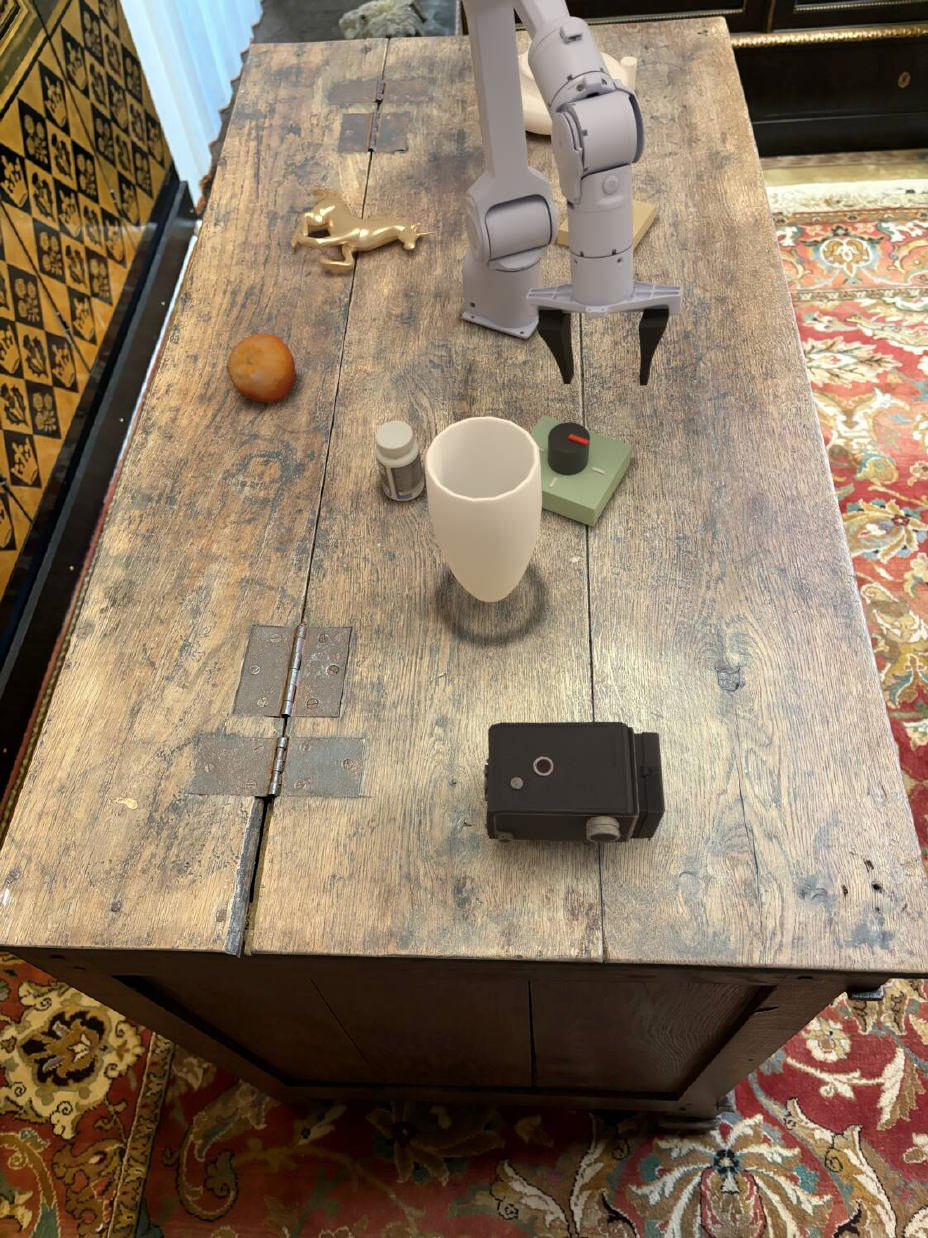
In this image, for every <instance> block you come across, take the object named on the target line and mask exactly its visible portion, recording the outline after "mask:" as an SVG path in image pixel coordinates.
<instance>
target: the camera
mask: <svg viewBox="0 0 928 1238" xmlns="http://www.w3.org/2000/svg"><path fill="white" fill-rule="evenodd" d="M487 734H488V735H487V737H488V739H487V740H488V741H487V743H488V755H487V756H488V757H487V759H485V762H486V764H484V769H483V770H482V774H483V793H484V798H483V799H484V802H486V813H485V814H486V815H485V818H486V819H485V820H486V821H485V822H486V823H485V824H483V828H484V829H486V834H487V837H488V839H489V840H497V842H499V843H500V844H512V843H513V842H514V841H531V842H558V843H561V842H562V843H589V844H592V843H593V844H596V843H597V844H600V843H601V844H612V843H629V842H630V841H631V840H634V839H635V840H638V839H639V840H641V839H642V840H643V839H647V841H648V842H650V841H651V839H653V837H654V836H655V834H656V832H657V830H658V828H659V825H660V823H661V821H662V818H663V817H664V814H665V812H666V805H665V804H666V803H665V796H664V795H665V792H664V781H663V771H662V770H663V769H662V767H663V766H662V757H661V755H662V754H661V744H660V734H659V733H658V732H657V731H656V732H653V731H642V732H640V733H639V732H638V733H636V732H635V730H634V727H632V726H628V724H627V723H625V722H623V721H559V722H557V721H555V722H552V721H551V722H529V721H528V722H527V721H526V722H524V721H522V722H520V721H519V722H518V721H516V722H507V721H506V722H505V721H504V722H497V723H493V724H491V725H490V726H489V727H488V729H487Z"/></svg>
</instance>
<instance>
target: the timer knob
mask: <svg viewBox="0 0 928 1238" xmlns="http://www.w3.org/2000/svg"><path fill="white" fill-rule="evenodd" d="M565 422H566V421H565ZM587 430H588V429H587V428H586V427H585V426H583V425H582V424H580V423H576V422H571V421H567V422H566V423H561V424H558V425H556V426H555V427H553V428H552V429H551V431H550V432H549V435H548V464H549V466H550V467H551V469H552V470H554V471H555V472H557V473H559V474H563V475H573V474H577V473H579V472H581V471H582V470H584V468H585V467H586V466H587V464H588V456H589V444H590V435H589V432H588V431H587Z"/></svg>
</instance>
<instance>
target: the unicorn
mask: <svg viewBox="0 0 928 1238" xmlns="http://www.w3.org/2000/svg"><path fill="white" fill-rule="evenodd" d="M310 193H311V195H312V196H313V198H314V200H316V201H317V202H318V203H316V204H315V205H314V206H313V207H312V209H311V211H310V210H309V211H305V212H303V213H302V214H301V215H300V217H299V223H300V224H299V226H298V227H296V229H295V231H294V232H293V235H292V238H291V240H290V241H289V244H290V248H291V249H292V250H294V249H296V247H297V246H298V245H299V244H300V245H302V246H303V247H307V248H312V249H313V248H314V249H318V250H323V249H327V248H331V247H332V248H333V247H336V246H341V254H342V257H343V258H344V261H336V260H335V261H334V260H332V259H328V258H327V257H326V256H324V255H318V261H319V265H320V266H321V267H322V268H323V269H325V270H328V271H332V272H350V271H352V270H353V269H354V267H355V264H356V263H355V259H354V257H353V254H355V253H357V252H367V251H371V250H374V249H377V248H380V247H382V246H384V245H386V244H388V243H391V242H394V241H397V240H399V241H400V242H401V243H402V244H403V248H404V250H406V251H412V250H413V249H414V248H416V242H417V240H418V239H419V237H424V236H427V235H428V236H429V235H432V234H436V233H437V231H431V232H430V231H429V232H418V231H419V229H420V227H421V222H417V223H415V224H413V223H412V222H411V221H409V220H407V219H405V218H401V217H399V215H396V216H388V215H375V216H373V215H370V214H368V215H367V218H360V217H357V216H354V215H352V213H351V211H350V209H349V207H348V206H349V205H348V204H347V202H346V201H344V200H343V197H342V194H341V193H340V192H339V191H338V190H336V189H334V190H333V189H332V188H329V187H325V188H321V187H319V188H317V187H315V188H313V189H312V190H311V191H310ZM325 231H328V233H329V235H328V236H325V237H322V238H316V237H311V236H308V235H310V234H314V233H319V232H325Z"/></svg>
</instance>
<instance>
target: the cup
mask: <svg viewBox="0 0 928 1238" xmlns="http://www.w3.org/2000/svg"><path fill="white" fill-rule="evenodd" d="M424 473H425V486H426V496H427V507H428V512H429V517H430V521H431V526H432V529H433V530H432V531H433V535H434V538H435V542H436V543H437V545H438V547H439V549H440V551H441V553H442V556H443V558H444V560H445V561H446V564H447V565H448V567H449V569H450V571H451V573H452V574H453V576H454V577H455V579H456V580H457V582H458V583H459V584H460V586H462V588H463V589H464V590H465V591H467V592H468V593H469V594H470V595H472V596H473V598H475V599H477V600H478V601H481V602H485V603H497V602H499V601H501V600H504V599H505V598H507V596H508V595H509V594H510V593H511V592H512V591H514V589H516V587H517V586H518V584H520V581H521V580H522V578H523V577H524V575H525V573H526V571H527V568H528V566H529V563H530V561H531V558H532V556H533V552H534V550H535V548H536V543H537V542H538V538H539V535H540V530H541V529H540V528H541V518H542V509H543V508H542V489H541V464H540V454H539V447H538V445H537V444H536V443H535V441H534V440H533V438H532V437H531V435H530V432H529V431H528V430H526V429H524V428H523V427H521V426H520V425H518V424H516V423H515V422H513V421H511V420H509V419H504V418H499V417H494V416H491V415H490V416H489V415H488V416H477V417H468V418H464V419H462V420H460V421H456V422H454V423H451V424H449V425H448V426H447V427H446V428H444V429H443V430H442V431H440V433H438V434H437V435H436V436H435V437H433V438H432V441H431V442H430V445H429V446H428V448H427V450H426V452H425V454H424Z"/></svg>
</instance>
